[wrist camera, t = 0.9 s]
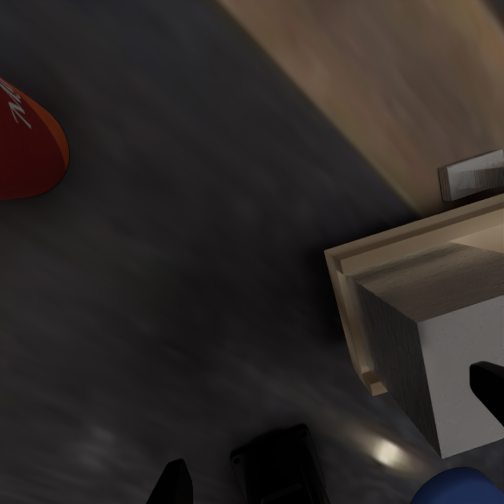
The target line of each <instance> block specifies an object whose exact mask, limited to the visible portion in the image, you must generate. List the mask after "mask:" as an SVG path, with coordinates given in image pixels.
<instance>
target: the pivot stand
mask: <svg viewBox="0 0 504 504" xmlns="http://www.w3.org/2000/svg"><path fill="white" fill-rule="evenodd" d="M438 171H439V178H440V185H441V192H442V199H443V201H454V200H457V199H459V198H462V197H465V196H468V195H471V194H474V193H477V192H480V191H483V190H486V189H489V188H492V187H504V157H503V149H501V150H495V151H490V152H487V153H484V154H481V155H478V156H475V157H472V158H469V159H466V160H463V161H460V162H457V163H454V164H451V165H447V166H444V167H441V168H438Z"/></svg>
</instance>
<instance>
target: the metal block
mask: <svg viewBox="0 0 504 504" xmlns="http://www.w3.org/2000/svg"><path fill="white" fill-rule="evenodd" d="M345 276H346V280H347V284H348V288H349V293H350V297H351V301H352V305H353V309H354V313H355V318H356V322H357V326H358V330H359V334H360V339H361V343H362V347H363V351H364V355H365V360H366V364H367V366H368V368H369V369H370V370H371V371H372V373H373V374H374V375H375V376H376V378H377V379H378V380H379V381H380V383H381V384H382V385H383V386H384V388H385V389H386V390H387V391H388V392H389V394H390V395H391V396H392V397H393V399H394V400H395V401H396V402H397V404H398V405H399V406H400V407H401V409H402V410H403V411H404V412H405V413H406V415H407V416H408V417H409V418H410V420H411V421H412V422H413V423H414V425H415V426H416V427H417V428H418V430H419V431H420V432H421V433H422V435H423V436H424V437H425V438H426V439H427V441H428V442H429V443H430V444H431V446H432V447H433V448H434V449H435V451H436V452H437V453H438V454H439V456H440V457H441V458H442V459H443V458H446V457H449V456H452V455H455V454H458V453H461V452H464V451H467V450H470V449H473V448H476V447H479V446H482V445H485V444H488V443H491V442H494V441H497V440H500V439H503V438H504V427H503V426H502V425H501V424H500V422H499V421H498V420H497V419H496V418H495V417H494V416H493V415H492V414H491V413H490V411H489V410H488V409H487V408H486V407H485V406H484V405H483V404H482V403H481V401H480V400H479V399H478V398H477V397H476V396H475V395H474V394H473V392H472V390H471V388H470V385H469V367H470V365H471V364H473V363H476V362H479V361H487V362H490V363H494V364H497V365H500V366H503V367H504V253H500V252H495V251H491V250H486V249H481V248H477V247H472V246H467V245H463V244H458V243H453V242H449V241H448V242H445V243H441V244H438V245H435V246H432V247H429V248H426V249H423V250H420V251H416V252H413V253H410V254H407V255H404V256H401V257H398V258H395V259H392V260H388V261H385V262H382V263H379V264H376V265H373V266H370V267H367V268H363V269H360V270H357V271H354V272H351V273H348V274H345Z"/></svg>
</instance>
